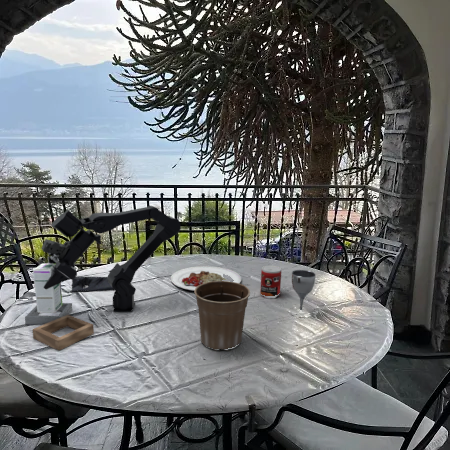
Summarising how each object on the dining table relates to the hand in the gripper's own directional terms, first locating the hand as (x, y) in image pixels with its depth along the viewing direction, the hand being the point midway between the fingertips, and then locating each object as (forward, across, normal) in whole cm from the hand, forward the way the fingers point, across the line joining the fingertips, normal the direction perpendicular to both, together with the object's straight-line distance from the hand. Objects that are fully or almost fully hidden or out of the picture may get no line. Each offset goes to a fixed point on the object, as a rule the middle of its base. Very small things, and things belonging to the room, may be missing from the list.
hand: (43, 284), depth 121 cm
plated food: (-35, -11, +56) cm, 67 cm away
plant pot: (-21, +36, +41) cm, 58 cm away
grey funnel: (-45, +33, +65) cm, 86 cm away
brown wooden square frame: (+7, +11, +12) cm, 18 cm away
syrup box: (+5, 0, +7) cm, 9 cm away
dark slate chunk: (-7, -26, +27) cm, 38 cm away
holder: (+8, -5, +11) cm, 14 cm away
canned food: (-46, +14, +66) cm, 81 cm away
